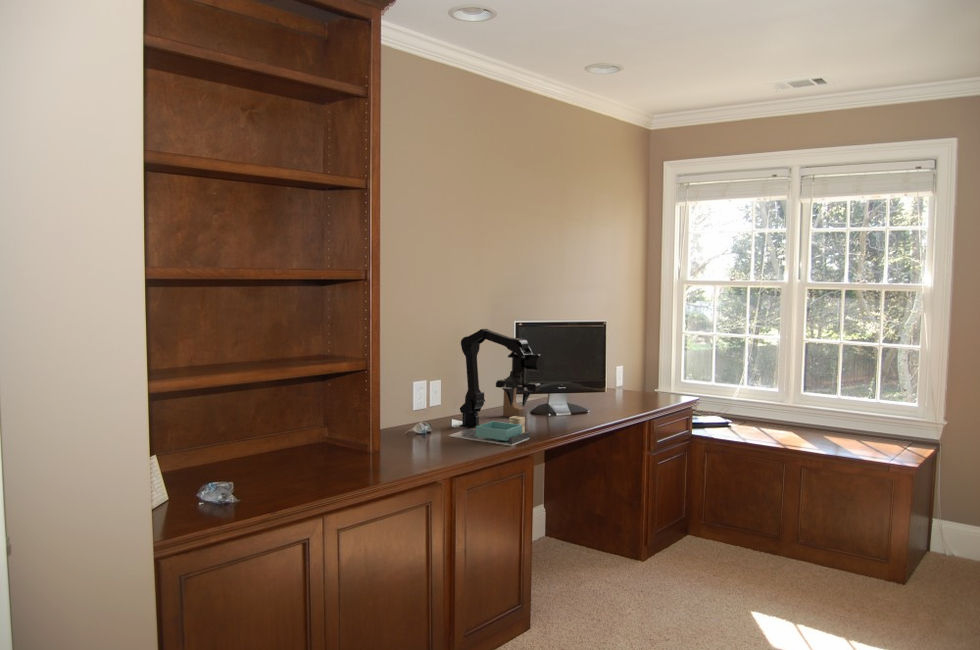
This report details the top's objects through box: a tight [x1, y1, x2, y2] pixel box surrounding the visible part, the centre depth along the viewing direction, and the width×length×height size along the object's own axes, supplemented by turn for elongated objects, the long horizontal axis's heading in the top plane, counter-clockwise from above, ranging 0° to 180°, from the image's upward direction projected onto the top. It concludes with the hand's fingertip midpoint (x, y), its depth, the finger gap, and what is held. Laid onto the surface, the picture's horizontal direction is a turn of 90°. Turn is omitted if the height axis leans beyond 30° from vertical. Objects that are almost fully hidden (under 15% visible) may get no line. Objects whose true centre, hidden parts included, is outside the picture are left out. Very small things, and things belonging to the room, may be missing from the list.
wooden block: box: [502, 378, 525, 418], centre depth 360 cm, size 9×4×18 cm, turn 56°
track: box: [448, 428, 531, 447], centre depth 312 cm, size 29×16×3 cm, turn 61°
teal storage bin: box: [475, 420, 522, 441], centre depth 309 cm, size 14×14×5 cm
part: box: [508, 416, 526, 433], centre depth 321 cm, size 5×5×7 cm
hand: (517, 405), depth 321 cm, fingers open, 5 cm apart
